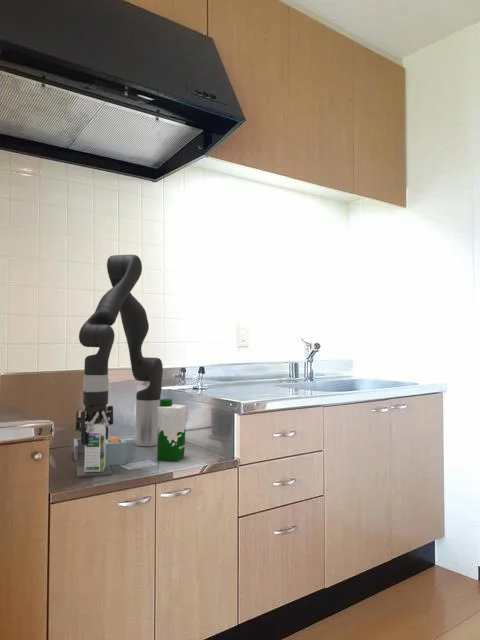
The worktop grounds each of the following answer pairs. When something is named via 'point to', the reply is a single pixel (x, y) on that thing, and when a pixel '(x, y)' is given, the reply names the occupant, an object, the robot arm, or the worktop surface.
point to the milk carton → (171, 431)
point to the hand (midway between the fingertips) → (94, 442)
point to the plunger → (114, 439)
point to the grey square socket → (115, 452)
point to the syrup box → (96, 448)
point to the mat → (88, 474)
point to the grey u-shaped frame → (79, 448)
